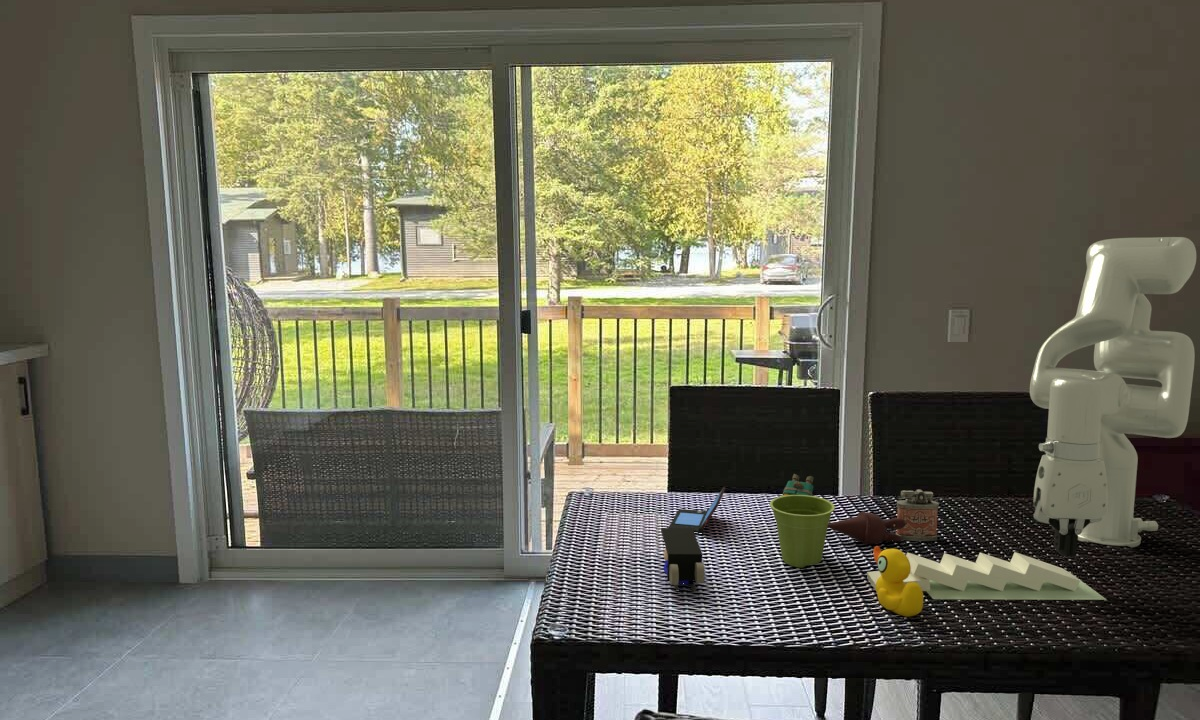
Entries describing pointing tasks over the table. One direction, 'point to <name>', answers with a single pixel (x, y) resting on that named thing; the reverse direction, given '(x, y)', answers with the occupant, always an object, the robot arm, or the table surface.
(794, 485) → the binoculars
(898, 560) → the duckling
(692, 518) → the handheld game console
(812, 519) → the plant pot
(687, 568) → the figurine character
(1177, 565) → the table surface
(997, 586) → the domino
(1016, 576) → the domino
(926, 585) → the domino
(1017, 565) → the domino
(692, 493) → the table surface
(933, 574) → the domino
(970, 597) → the board
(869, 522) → the icecream
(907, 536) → the lighter
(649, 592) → the table surface
